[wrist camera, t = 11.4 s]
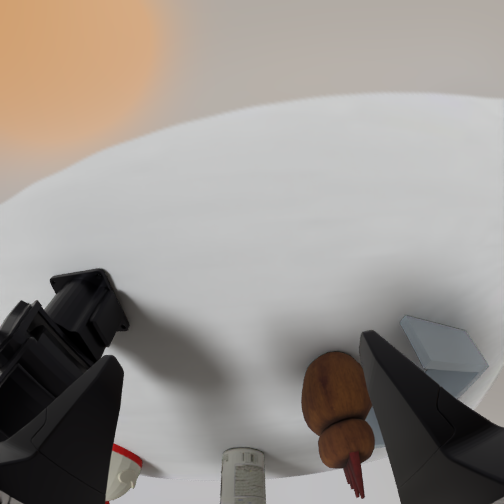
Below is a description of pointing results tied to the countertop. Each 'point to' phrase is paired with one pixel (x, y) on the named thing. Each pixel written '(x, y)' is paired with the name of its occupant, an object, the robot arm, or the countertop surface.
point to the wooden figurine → (339, 414)
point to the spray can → (243, 477)
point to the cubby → (440, 359)
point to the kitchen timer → (122, 472)
